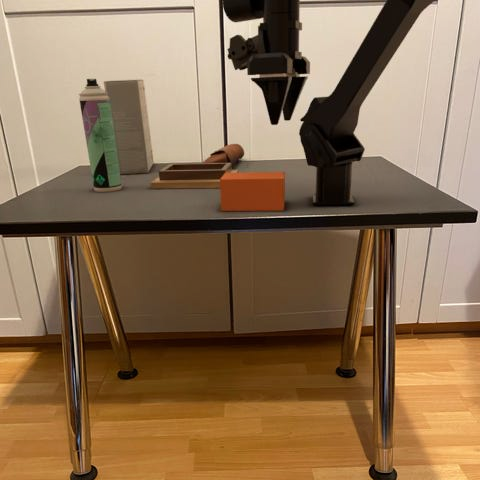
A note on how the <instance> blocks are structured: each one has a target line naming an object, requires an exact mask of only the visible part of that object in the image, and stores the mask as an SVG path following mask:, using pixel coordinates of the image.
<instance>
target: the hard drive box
mask: <svg viewBox="0 0 480 480" xmlns="http://www.w3.org/2000/svg"><path fill="white" fill-rule="evenodd" d="M103 87H104V91H105V92H106V93H108V96H109V99H110V106H111V113H112V120H113V127H114V134H115V142H116V149H117V156H118V163H119V170H120V175H132V174H134V175H135V174H148V173H150V170H151V168H152V166H153V165H154V153H153V146H152V145H153V144H152V139H151V137H152V136H151V129H150V122H149V114H148V113H149V112H148V105H147V98H146V97H147V96H146V87H145V81H144V79H142V78H141V79H118V80H117V79H116V80H115V79H114V80H106V81H105V80H104V81H103Z"/></svg>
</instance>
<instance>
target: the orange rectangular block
mask: <svg viewBox="0 0 480 480" xmlns="http://www.w3.org/2000/svg"><path fill="white" fill-rule="evenodd" d="M219 189H220V190H219V191H220V192H219V193H220V208H221V209H220V211H221V212H267V211H268V212H270V211H271V212H275V211H276V212H277V211H278V212H280V211H281V212H282V211H284V209H285V203H286V201H285V200H286V197H285V196H286V172H285V171H255V172H252V171H251V172H250V171H249V172H248V171H247V172H244V171H243V172H239V173H225V174H224V175H223V176H222V177H221V179H220V188H219Z"/></svg>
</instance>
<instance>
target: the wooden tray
mask: <svg viewBox="0 0 480 480" xmlns="http://www.w3.org/2000/svg"><path fill="white" fill-rule="evenodd" d="M225 173H240V171H239V169H233V166H232V163H203V162H198V163H194V162H193V163H192V162H191V163H168V164H167V165H166V166H164V167H163V168H161V169H159V171H158V177H157V178H155V179H153V180H152V181H151V182H150V188H151V189H152V190H153V189H155V190H157V189H220V179H221V177H222V176H223V175H224V174H225Z"/></svg>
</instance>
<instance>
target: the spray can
mask: <svg viewBox="0 0 480 480" xmlns="http://www.w3.org/2000/svg"><path fill="white" fill-rule="evenodd" d="M97 81H98V80H97V78H86V86H84V89H83V90H82V91H81V92H80V93H78V97H79V98H78V100H79V106H80V112H81V118H82V124H83V131H84V135H85V142H86V143H85V144H86V148H87V154H88V160H89V166H90V172H91V179H92V185H93V190H94V192H98V193H109V192H115V191H120V190H122V188H123V185H122V178H121V174H120V170H119V163H118V156H117V149H116V142H115V134H114V127H113V120H112V113H111V106H110V99H109V96H108V93H106V92H105V89H103V88H101V85H99V83H98V82H97Z"/></svg>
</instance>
